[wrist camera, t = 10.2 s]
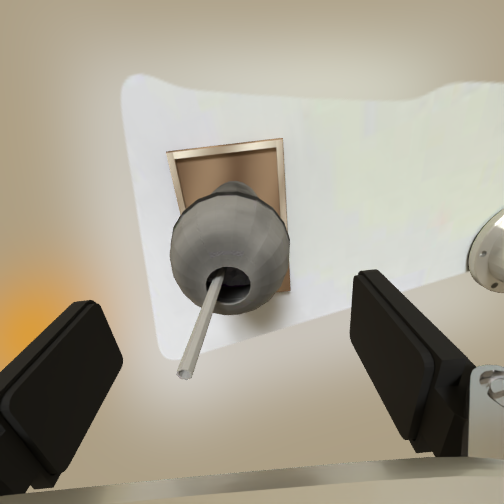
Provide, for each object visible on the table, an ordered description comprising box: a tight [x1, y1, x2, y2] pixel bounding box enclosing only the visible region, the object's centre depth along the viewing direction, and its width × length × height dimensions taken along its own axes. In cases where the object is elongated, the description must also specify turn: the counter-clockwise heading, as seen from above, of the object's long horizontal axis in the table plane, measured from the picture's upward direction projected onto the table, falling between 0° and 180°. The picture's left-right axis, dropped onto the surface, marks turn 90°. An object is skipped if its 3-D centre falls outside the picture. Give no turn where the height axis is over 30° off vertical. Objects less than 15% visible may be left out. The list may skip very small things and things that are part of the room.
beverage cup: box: [170, 181, 290, 380], centre depth 17 cm, size 7×7×20 cm
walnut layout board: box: [166, 138, 291, 292], centre depth 27 cm, size 11×17×2 cm, turn 6°
